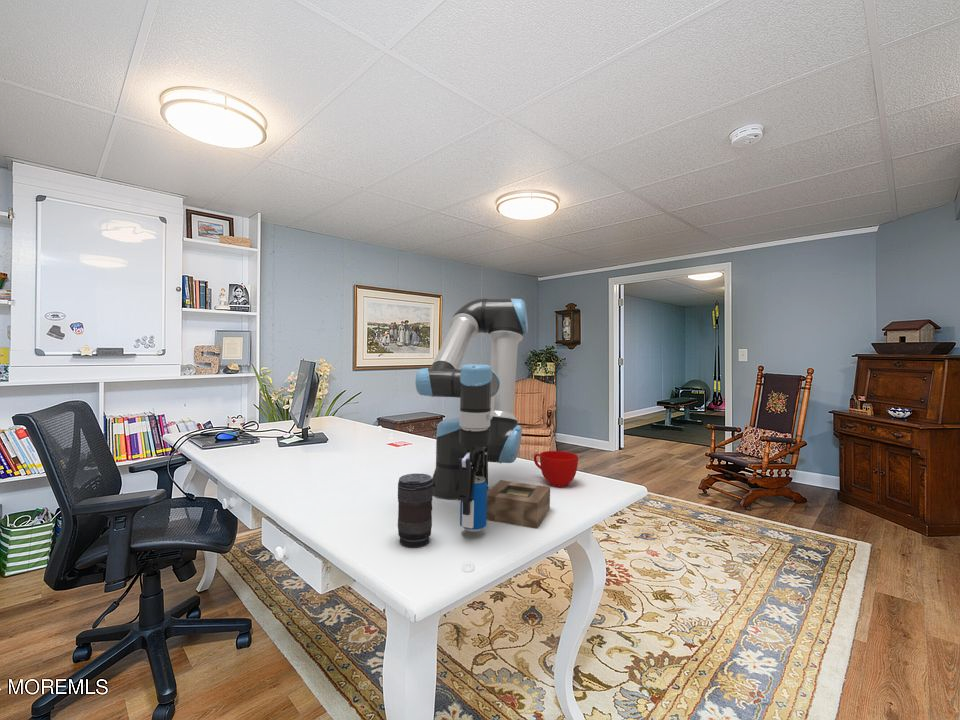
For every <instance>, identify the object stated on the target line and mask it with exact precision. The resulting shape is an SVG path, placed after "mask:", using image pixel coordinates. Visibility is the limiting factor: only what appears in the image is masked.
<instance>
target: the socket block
mask: <svg viewBox="0 0 960 720" xmlns="http://www.w3.org/2000/svg"><path fill="white" fill-rule="evenodd" d="M509 489H513V490H520V491H527V492H531V493H530V494H529V495H528V496H527V497H526V496H519V495H512V494H506V493H505V492H506V491H507V490H509ZM550 505H551V486H547V485H546V486H545V485H539V484H532V483H531V484H530V483H525V482H524V483H523V482H516V481H510V480H509V481H508V480H499V481H498V482H497V483H495V484H494V485H493V486H492V487H491V488H488V491H487V520H486V521H491V522H498V523H502V524H503V523H504V524H509V525H515V526H519V527H520V526H521V527H525V528H531V529H532V528H533V529H539V527H540V524H542V522H543V520H544V519H545V518H546V516H547V514H548V513H549V511H550V510H551V506H550Z"/></svg>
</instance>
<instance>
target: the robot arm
mask: <svg viewBox="0 0 960 720" xmlns="http://www.w3.org/2000/svg"><path fill="white" fill-rule="evenodd" d="M528 332H529V324H528V314H527V306H526V302H525V300H524V299H521V298H512V297H510V298H476V299H474V300H471V301H469V302H467V303H466V304H464V305H462V306H461V307H460V308H459V309H458V310H456V311H455V313H454V314H453V316H452V317H451V320H450V323H449V330H448V332H447V335H446V336H445V339H443V342H442V345H441V346H440V348H439V350H438V352H437V354H436V357H435V358H434V361H433V363H432V364H431V366H430V367H425V368H419V369H418V371H417V372H416V376H415V384H414V385H415V389H416V393H418V394H419V395H420V396H425V397H426V396H427V397H431V398H434V397H435V398H437V397H438V398H459V404H460V405H459V417H456V418H449V419H444V420H441V421H439V422H438V424H437V425H436V426H437V427H436V435H435V437H436V439H435V441H436V444H435V448H436V449H435V450H436V451H435V456H436V457H435V468H434V472H433V475H432V476H431V477H432V482H433V497H437V498H439V499H446V500H457V501H460V500H461V501H462V527H461V528H463V527H467V528H473V525H474V500H472V497H473V490H474V483H475V476H482V477H484V478H485V479H486V480H485V481H486V482H487V491H488V490H489V486H488V485H489V463H497V464H512V463H514V462H515V461H516V460H517V458H518V457H519V452H520V448H521V443H522V435H523V434H522V433H523V427H522V426H521V425H519V424H518V419H517V418H516V416H515V414H514V411H515V410H514V407H515V395H516V393H515V391H516V378H517V377H516V376H517V363H518V362H517V360H518V345H519V343H520V342H522V340H523V338H524V335H526V334H528ZM481 333H483V334H487V337H488V339H489V340H490V341H491V350H490V351H491V352H490V363H489V364H479V363H477V364H476V363H474V364H473V363H469V364H463V365H462V366H461V364H462V362H463V359H464V358H465V356H466V352H467V350H468V348H469V346H470V343H471V340H472V339H473V338H474V337H476V335H477V334H481ZM460 367H461V369H460ZM477 479H478V478H477ZM478 480H480V479H478Z"/></svg>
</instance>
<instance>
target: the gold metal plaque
mask: <svg viewBox="0 0 960 720" xmlns="http://www.w3.org/2000/svg"><path fill="white" fill-rule="evenodd" d="M505 493H506V494H512V495H519V496H526V497H527V496H528V495H529V494H530V493H531V492H527V491H520V490H513V489H509V490H507V491H506V492H505Z"/></svg>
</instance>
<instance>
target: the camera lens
mask: <svg viewBox="0 0 960 720" xmlns="http://www.w3.org/2000/svg"><path fill="white" fill-rule="evenodd" d="M432 477H433V476H431V475H430V474H427V473H408V474H405V475H404V474H403V475H402V476H400V477H398V482H397V502H398V507H397V510H398V512H397V515H398V516H397V529H398V530H397V531H398V537H399V542H400V544H401V545H402V546H404V547H406V548H420V547H423V546H426V545H427V544H429V541H430V536H431V534H432V526H433V515H432V514H433V497H434V495H433V482H432Z"/></svg>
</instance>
